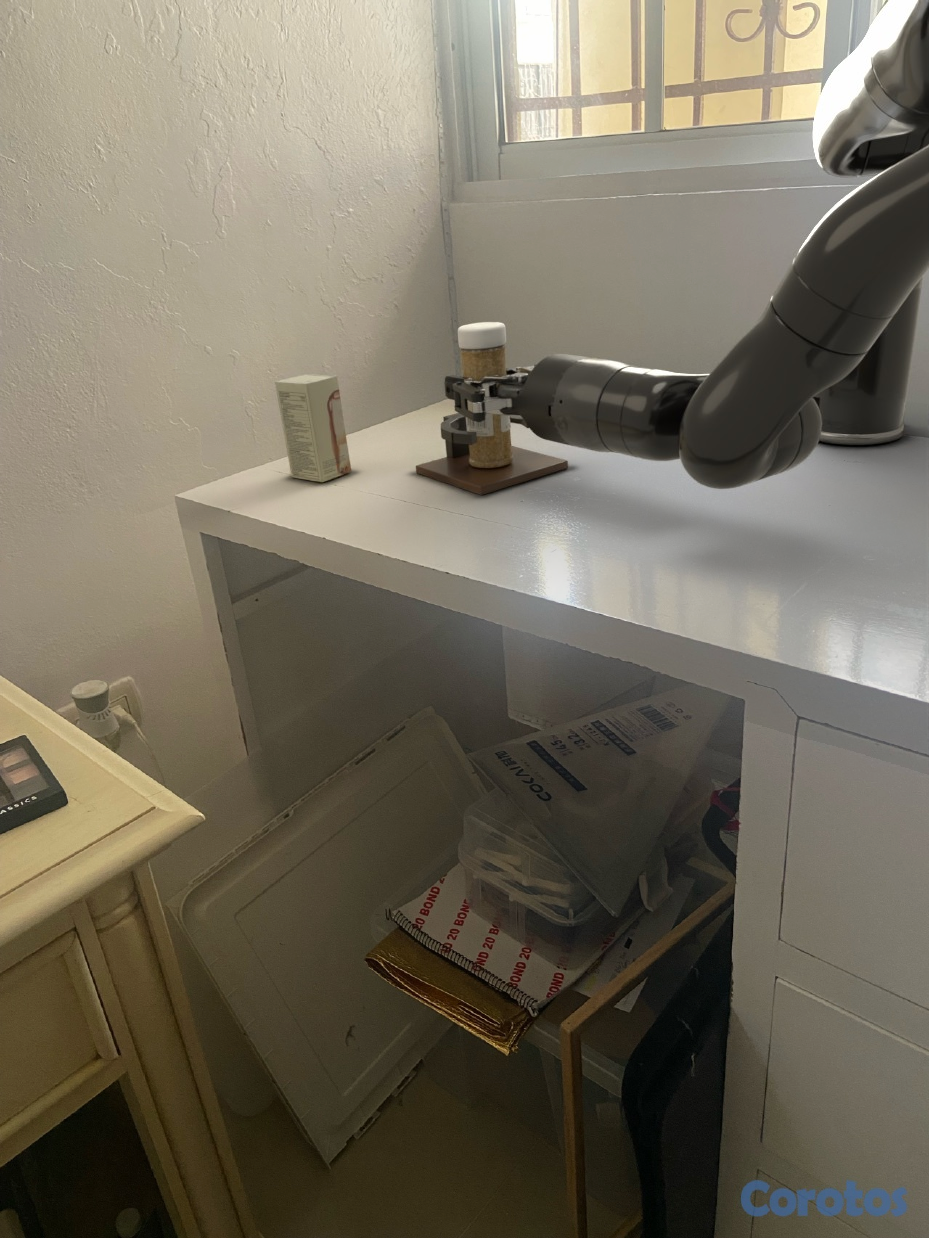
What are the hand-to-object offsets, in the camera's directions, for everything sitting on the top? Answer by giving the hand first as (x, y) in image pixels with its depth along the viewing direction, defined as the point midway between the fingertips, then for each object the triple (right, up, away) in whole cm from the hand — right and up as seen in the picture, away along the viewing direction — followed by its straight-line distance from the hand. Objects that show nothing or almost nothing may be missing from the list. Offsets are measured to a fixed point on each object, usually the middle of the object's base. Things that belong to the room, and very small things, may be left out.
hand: (468, 382), depth 90 cm
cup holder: (+2, -8, +2) cm, 9 cm away
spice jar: (+2, -8, +1) cm, 8 cm away
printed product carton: (-15, -9, +5) cm, 18 cm away
